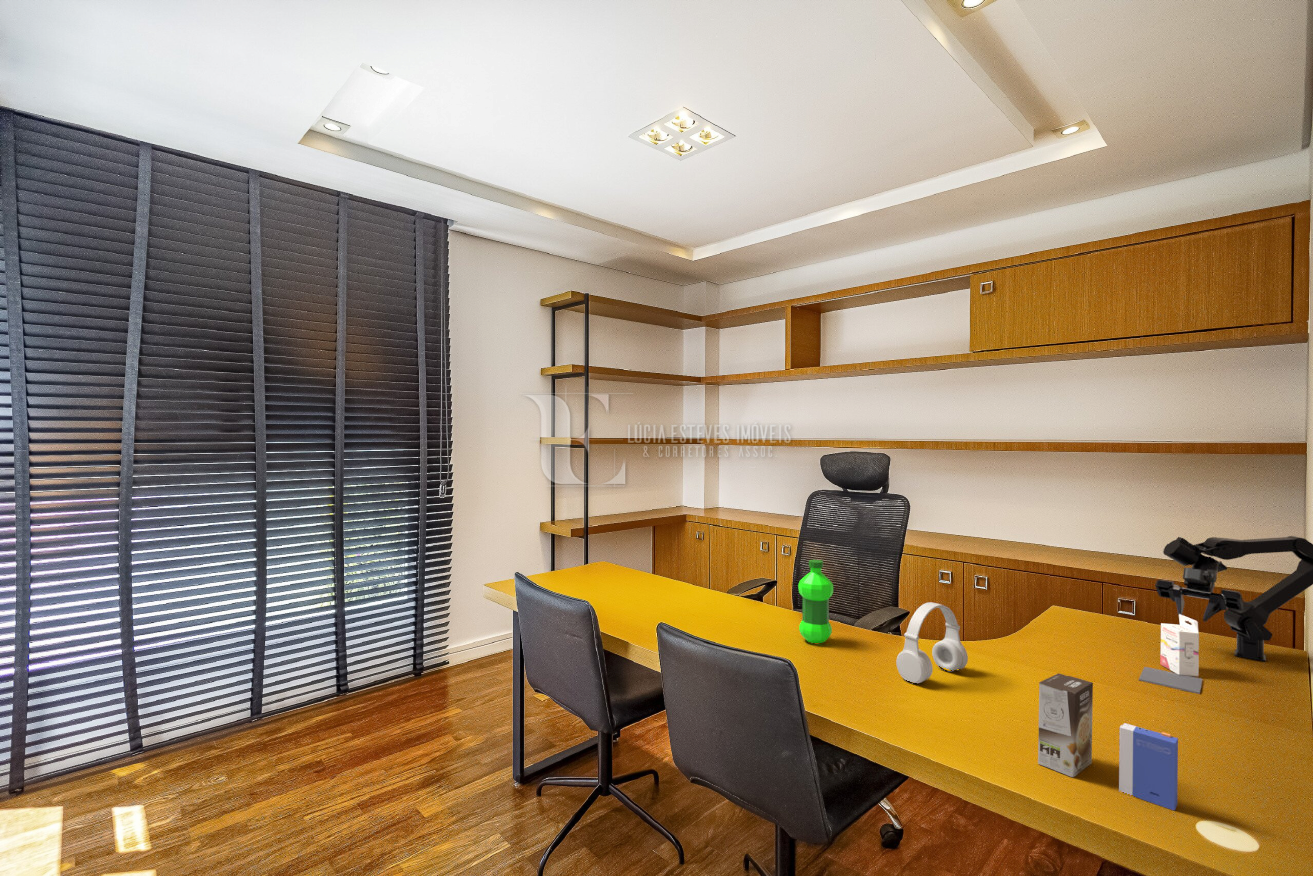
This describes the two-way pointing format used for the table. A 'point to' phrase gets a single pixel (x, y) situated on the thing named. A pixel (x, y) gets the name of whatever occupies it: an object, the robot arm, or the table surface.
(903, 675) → the headphones
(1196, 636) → the ink cartridge box
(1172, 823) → the table surface
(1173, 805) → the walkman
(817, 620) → the plastic bottle
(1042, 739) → the coffee box
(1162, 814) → the table surface
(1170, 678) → the mat
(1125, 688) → the table surface
